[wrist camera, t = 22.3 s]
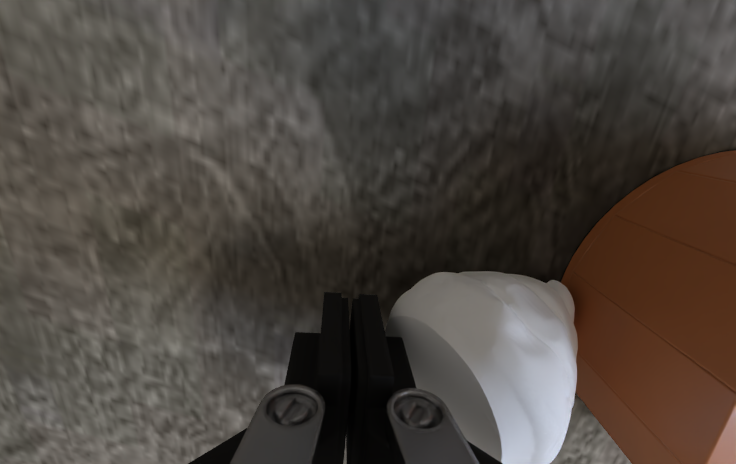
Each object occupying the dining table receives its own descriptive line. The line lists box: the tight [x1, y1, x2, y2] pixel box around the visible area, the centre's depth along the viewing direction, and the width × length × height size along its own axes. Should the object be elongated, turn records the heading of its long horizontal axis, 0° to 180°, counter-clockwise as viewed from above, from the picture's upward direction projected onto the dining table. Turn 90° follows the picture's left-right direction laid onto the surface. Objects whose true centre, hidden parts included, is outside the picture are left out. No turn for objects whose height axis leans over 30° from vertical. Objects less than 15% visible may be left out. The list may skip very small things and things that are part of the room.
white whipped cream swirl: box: [385, 271, 578, 464], centre depth 11 cm, size 6×6×5 cm
